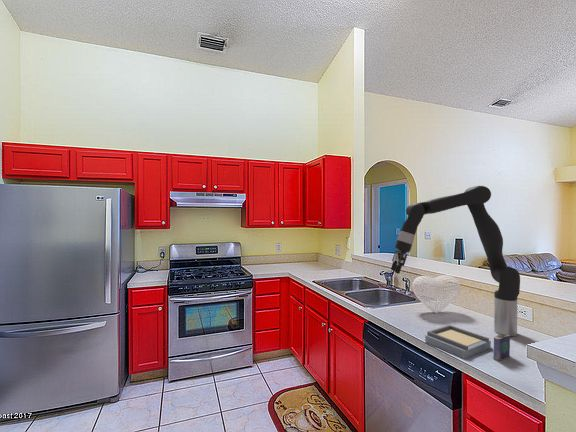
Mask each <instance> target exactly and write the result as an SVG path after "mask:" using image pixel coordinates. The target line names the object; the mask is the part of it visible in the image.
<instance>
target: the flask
mask: <svg viewBox="0 0 576 432" xmlns="http://www.w3.org/2000/svg"><path fill="white" fill-rule="evenodd" d="M498 332H499V334H498V335H496V336H494V337H493V360H495V361H503V360H505V359H507V358H510V356H511V355H510V354H511V353H510V350H511V336H510V335H508V334H505V333H504V334H503V332H500V331H498Z"/></svg>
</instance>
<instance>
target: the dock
mask: <svg viewBox="0 0 576 432" xmlns="http://www.w3.org/2000/svg"><path fill="white" fill-rule="evenodd" d="M424 338H425V340H424V341H425V343H427V344H429V345H432V346H434V347H436V348H439V349H442V350H443V351H446V352H448V353H450V354H454V355H455V356H457V357H460V358H463V359H466V358H469V357H471V356H475V355H476V354H478V353H481V352H483V351H487V350H488V349H490V348H492V342H491V340H490V338H489V337H486V336H484V335H481V334H478V333H475V332H472V331H469V330H465V329H463V328H460V327H456V326H453V325H451V324H449V325H448V324H447V325H445V326H441V327H438V328H435V329H432V330H428V331H427V332H426V335H425V336H424Z"/></svg>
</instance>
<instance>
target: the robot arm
mask: <svg viewBox="0 0 576 432" xmlns="http://www.w3.org/2000/svg"><path fill="white" fill-rule="evenodd" d="M491 197H492V192H491V190H490V188H488V187H487V186H484V185H476V186H471V187H467V189H465V190H464V192H461V193H455V194H453V195H452V194H451V195H447V196H446V195H445V196H441V197H437V198H433V199H430V200H427V201H426V200H425V201H421V202H416V203H411V204H409V205H408V206H407V207H406V209H405V213H406V215H407V218H406V219H405V220H404V222H403V224H402V225H401V228H400V229H401V230H400V232H399V234H398V236H397V239H396V242H395V245H394V248H395V250H394V254H393V257H392V259H391V261H392V264H391V268H390V270H391V271H393V272H394V273H396V274H398V275H399V274H400V273H401V269H402V268H403V267H405V264H406V260H407V258H408V254H407V253H410V252H411V250H412V246H413V244H414V240H415V236H416V233H417V230H418V227H419V225H420V223H421V222H422V221H423V218H424V216H426V215H430V214H431V215H432V214H436V213H441V212H444V211H449V210H451V209H455V208H459V207H462V206H463V207H464V206H467V208H468V210H469V212H470V214H471V217H472V220H473V222H474V225H475V228H476V231H477V233H478V236H479V239H480V243H481V244H482V247H483V250H484V253H485V255H486V258H487V261H488V266H489V271H490V275H491V277H492V278H493V280H494V281H495V282H497V283H498V289H497V290H494V295H493V296H494V297H493V300H494V301H493V302H494V303H493V305H494V307H493V308H494V311H493V313H494V316H493V317H494V318H493V322H494V323H493V325H494V327H493V328H494V330H493V332H495V333H496V334H498V335H499V332H498V331H500V332H503V334H504V333H505V334H508V335H510V337H516V336H518V297H519V295H520V290H521V289H520V288H521V275H520V272H519V270H517V269H516V268H514V267H513V266H509V265H508V264H507V262H506V261H505V258H504V254H503V249H504V248H503V247H504V238H503V235H502V232H501V230H500V227H499V225H498V224H497V222H496V221H495V220H494V219H493V218H492V216H491V215H490V214H489V212H488V211H487V209H486V207H485V203H488V202H489V200H490V199H491Z"/></svg>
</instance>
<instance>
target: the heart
mask: <svg viewBox="0 0 576 432" xmlns="http://www.w3.org/2000/svg"><path fill="white" fill-rule="evenodd" d="M411 285H412V287H411V289H412V291H413V293H414V295H415V297H416V298H417V299H418V300H419V301H420V302H421V303H422V304H423V305H424V306H425V307H426V308H428V310H430V311H431V312H432V313H436V314H438V313H439V312H441V311H443V310H444V309H445V308H446V307H448V305H449V304H450V303H452V302H453V301H454V300H456V299H457V297H458V296H459V295H460V292H461V284H460V282H459V281H458V279H457V278H456V277H454V276H452V275H449V274H442V275H439V276H436V277H432V276H429V275H419V276H418V277H417V276H416V277H415V278H414V279H413V281H412V284H411Z"/></svg>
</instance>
